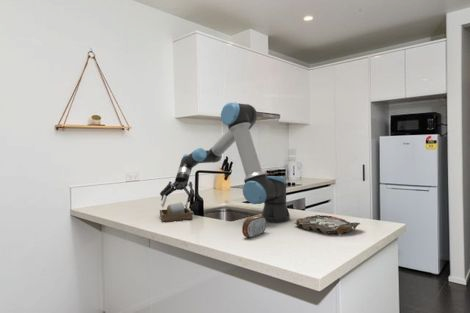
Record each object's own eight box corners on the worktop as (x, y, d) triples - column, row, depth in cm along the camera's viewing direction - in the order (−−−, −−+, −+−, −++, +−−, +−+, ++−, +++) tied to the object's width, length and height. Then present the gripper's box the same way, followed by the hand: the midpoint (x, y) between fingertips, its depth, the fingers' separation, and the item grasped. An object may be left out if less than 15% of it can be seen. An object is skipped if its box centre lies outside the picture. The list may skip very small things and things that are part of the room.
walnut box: (192, 220, 179) (192, 212, 179) (162, 222, 174) (162, 215, 174) (187, 214, 194) (187, 207, 194) (160, 216, 189) (159, 209, 189)
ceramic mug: (166, 216, 185) (166, 203, 185) (180, 214, 189) (179, 201, 189) (172, 220, 176) (172, 206, 176) (187, 218, 180) (187, 204, 180)
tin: (262, 231, 152) (261, 213, 152) (267, 232, 150) (267, 214, 150) (241, 239, 140) (241, 219, 140) (247, 240, 138) (247, 220, 138)
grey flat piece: (284, 227, 161) (284, 216, 161) (313, 220, 174) (313, 210, 174) (337, 240, 137) (337, 227, 137) (366, 230, 150) (366, 218, 150)
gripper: (204, 180, 196) (197, 210, 182) (165, 180, 201) (154, 209, 187) (201, 172, 191) (193, 202, 177) (161, 172, 196) (150, 201, 182)
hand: (173, 206), depth 182 cm, fingers open, 13 cm apart
